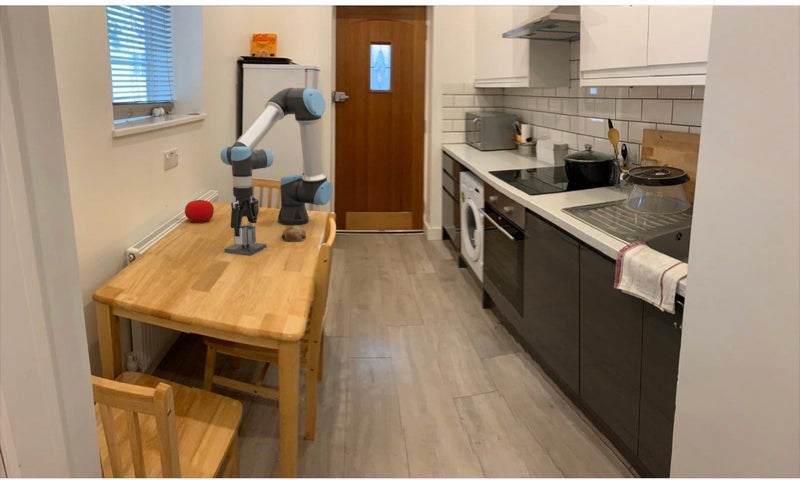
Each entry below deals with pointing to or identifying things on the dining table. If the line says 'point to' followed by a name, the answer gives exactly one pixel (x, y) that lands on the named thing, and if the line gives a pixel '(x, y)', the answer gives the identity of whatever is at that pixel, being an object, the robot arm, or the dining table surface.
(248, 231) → the tube
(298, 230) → the bread roll
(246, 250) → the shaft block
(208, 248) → the dining table surface
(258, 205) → the jar
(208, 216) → the tomato
